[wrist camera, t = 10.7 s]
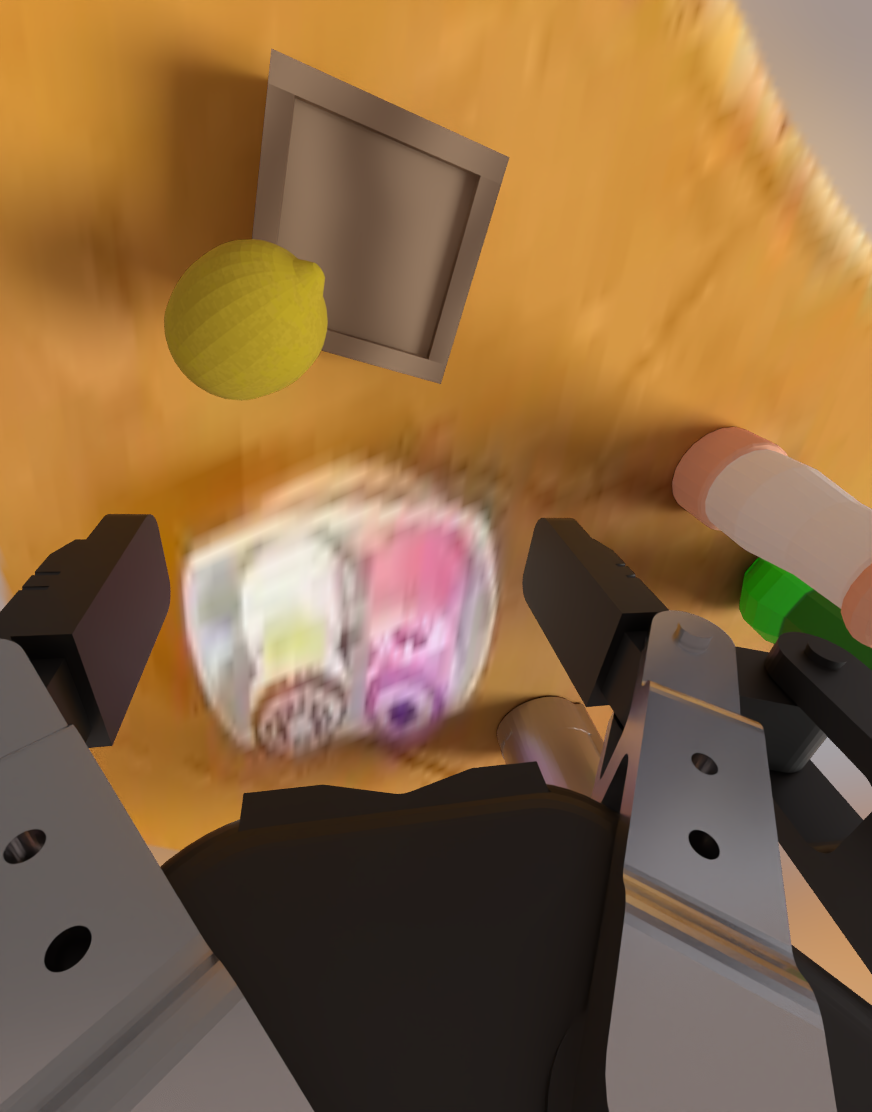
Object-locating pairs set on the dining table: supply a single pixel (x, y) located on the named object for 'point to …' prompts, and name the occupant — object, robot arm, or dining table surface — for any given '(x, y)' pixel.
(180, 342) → the lemon
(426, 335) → the walnut box
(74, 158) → the dining table surface
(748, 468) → the salt shaker
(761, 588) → the plastic bottle
